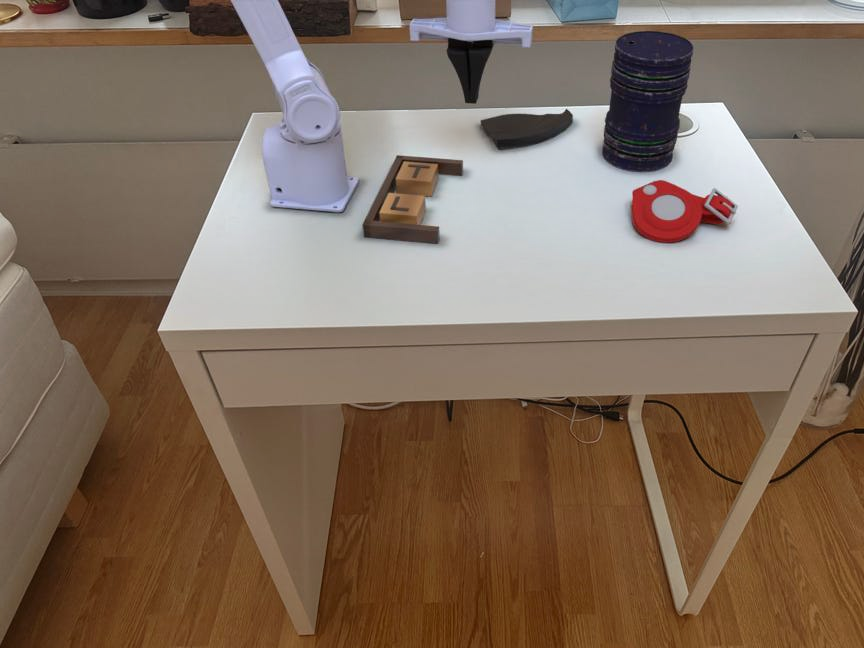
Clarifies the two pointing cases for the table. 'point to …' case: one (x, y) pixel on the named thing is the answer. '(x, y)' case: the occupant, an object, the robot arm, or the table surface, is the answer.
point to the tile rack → (372, 220)
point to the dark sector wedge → (524, 128)
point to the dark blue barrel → (646, 99)
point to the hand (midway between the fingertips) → (471, 100)
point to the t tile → (417, 178)
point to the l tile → (403, 209)
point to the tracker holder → (676, 211)
